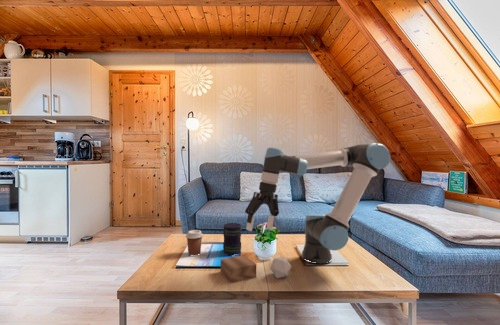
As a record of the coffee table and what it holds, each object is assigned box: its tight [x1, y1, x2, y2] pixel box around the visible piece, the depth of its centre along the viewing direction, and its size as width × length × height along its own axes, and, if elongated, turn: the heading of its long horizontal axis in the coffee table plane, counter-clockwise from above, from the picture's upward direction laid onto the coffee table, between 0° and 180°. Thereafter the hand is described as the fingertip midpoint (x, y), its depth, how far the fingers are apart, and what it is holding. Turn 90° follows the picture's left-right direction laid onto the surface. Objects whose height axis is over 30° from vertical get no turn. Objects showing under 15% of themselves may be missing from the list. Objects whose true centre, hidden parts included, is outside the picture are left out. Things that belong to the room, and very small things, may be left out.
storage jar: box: [222, 222, 242, 256], centre depth 146 cm, size 10×10×15 cm
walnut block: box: [220, 254, 257, 284], centre depth 119 cm, size 12×12×6 cm
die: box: [269, 256, 292, 279], centre depth 118 cm, size 8×9×10 cm
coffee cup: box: [185, 229, 204, 256], centre depth 143 cm, size 9×9×12 cm
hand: (259, 229), depth 118 cm, fingers open, 13 cm apart
